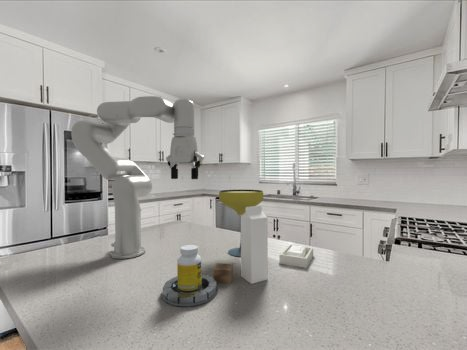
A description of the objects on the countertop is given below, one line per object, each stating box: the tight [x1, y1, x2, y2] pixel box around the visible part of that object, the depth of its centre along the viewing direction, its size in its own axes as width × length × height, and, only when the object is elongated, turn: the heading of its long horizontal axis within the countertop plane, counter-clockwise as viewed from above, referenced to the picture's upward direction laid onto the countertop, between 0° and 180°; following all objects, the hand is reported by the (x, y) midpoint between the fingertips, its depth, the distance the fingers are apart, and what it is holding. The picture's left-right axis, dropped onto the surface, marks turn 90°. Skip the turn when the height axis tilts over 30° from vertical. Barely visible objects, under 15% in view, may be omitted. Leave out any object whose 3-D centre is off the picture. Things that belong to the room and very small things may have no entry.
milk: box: [240, 205, 269, 285], centre depth 74 cm, size 6×6×22 cm
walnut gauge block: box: [213, 262, 234, 284], centre depth 73 cm, size 5×5×4 cm
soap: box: [287, 245, 306, 257], centre depth 91 cm, size 9×6×3 cm, turn 154°
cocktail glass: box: [218, 189, 265, 258], centre depth 98 cm, size 18×18×25 cm
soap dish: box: [279, 244, 314, 269], centre depth 90 cm, size 9×13×3 cm
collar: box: [161, 273, 218, 308], centre depth 65 cm, size 15×15×2 cm
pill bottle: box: [176, 244, 202, 294], centre depth 66 cm, size 6×6×12 cm
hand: (184, 179), depth 91 cm, fingers open, 9 cm apart
